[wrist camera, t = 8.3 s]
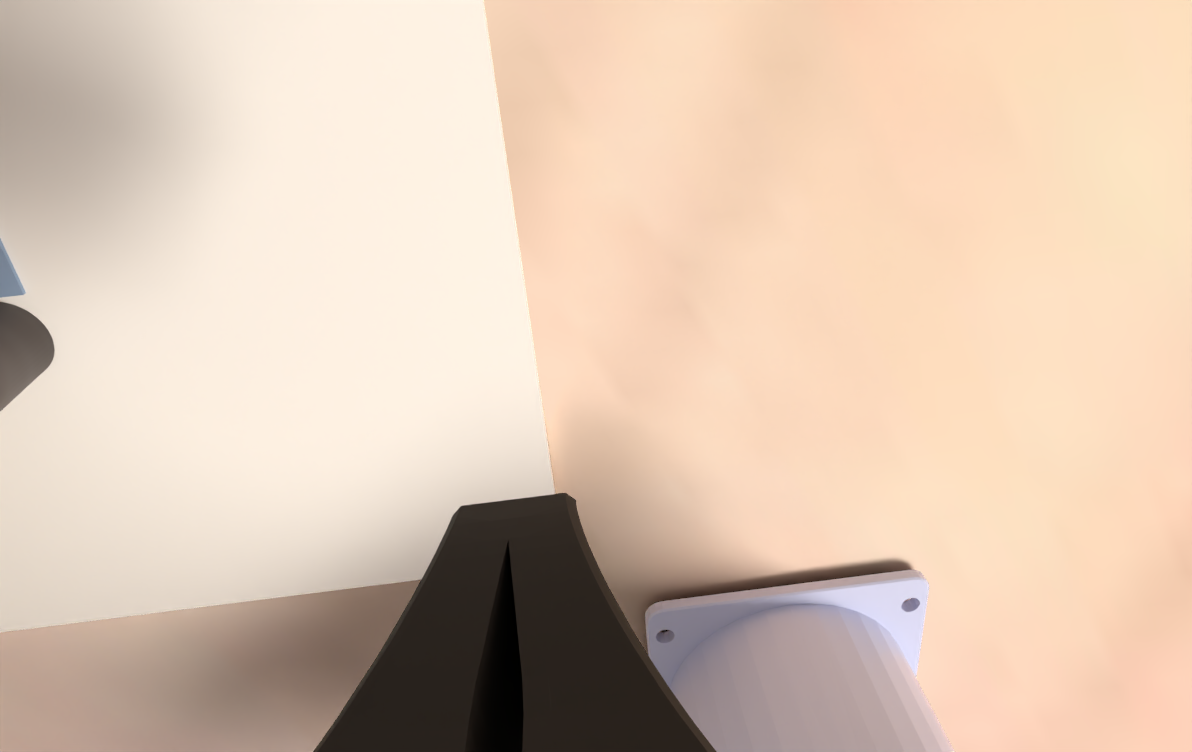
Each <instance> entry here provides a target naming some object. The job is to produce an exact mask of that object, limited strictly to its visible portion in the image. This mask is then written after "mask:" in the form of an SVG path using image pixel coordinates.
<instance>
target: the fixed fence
mask: <svg viewBox="0 0 1192 752" xmlns="http://www.w3.org/2000/svg"><path fill="white" fill-rule="evenodd" d="M54 351H55V349H54V343H53V339H52V337H51V335H50V333H49V331H48V329H47V328H46V327H45V325H44V324H43V323H42V322H41V321H40V320H39V319H38V318H37V317H35V316H34V315H33V314H31V313H30V312H28V311H27V310H25V309H23V308H21V307H18V306H16V305H13V304H9V303H4V302H0V411H2V410H3V409H4V408H5V407H6V406H7V405H8V404H9V403H10V402H11V401H12V400H13V399H15V398H16V397H17V396H18V395H19V394H20V393H21V392H22V391H23V390H24V389H25V388H26V387H27V386H29V385H30V384H31V383H32V382H33V381H34V380H35V379H36V378H37V377H38V376H39V375H40V374H42V373H43V372H44V371H45V370H46V369H47V368H48V367H49V366H50V364H51V362H52V360H53V357H54Z"/></svg>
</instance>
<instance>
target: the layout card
mask: <svg viewBox="0 0 1192 752" xmlns="http://www.w3.org/2000/svg"><path fill="white" fill-rule="evenodd" d="M0 302H4V303H9V304H13V305H16V306H18V307H21V308H23V309H25V310H27V311H28V312H30V313H31V314H33V315H34V316H35V317H37V318H38V319H39V320H40V321H41V322H42V323H43V324H44V325H45V327H46V328H47V329H48V331H49V333H50V335H51V337H52V339H53V343H54V349H55V351H54V357H53V360H52V362H51V364H50V366H49V367H48V368H47V369H46V370H45V371H44V372H43V373H42V374H40V375H39V376H38V377H37V378H36V379H35V380H34V381H33V382H32V383H31V384H30V385H29V386H27V387H26V388H25V389H24V390H23V391H22V392H21V393H20V394H19V395H18V396H17V397H16V398H15V399H13V400H12V401H11V402H10V403H9V404H8V405H7V406H6V407H5V408H4V409H3V410H2V411H0V633H1V632H9V631H17V630H25V629H33V628H41V627H49V626H56V625H64V624H72V623H80V622H88V621H96V620H104V619H112V618H120V617H128V616H136V615H144V614H152V613H160V612H168V611H176V610H184V609H192V608H200V607H208V606H215V605H223V604H231V603H239V602H247V601H255V600H263V599H271V598H279V597H287V596H295V595H303V594H311V593H319V592H327V591H335V590H343V589H351V588H359V587H367V586H374V585H382V584H390V583H398V582H406V581H414V580H422V578H423V576H424V574H425V572H426V570H427V568H428V566H429V564H430V562H431V560H432V559H433V557H434V555H435V553H436V551H437V548H438V546H439V544H440V542H441V540H442V538H443V536H444V534H445V532H446V530H447V527H448V525H449V523H450V521H451V518H452V516H453V514H454V513H455V512H456V511H457V510H458V509H459V508H460V506H463V505H471V504H479V503H488V502H496V501H504V500H512V499H520V498H528V497H536V496H544V495H552V494H555V488H554V481H553V474H552V467H551V460H550V453H549V447H548V440H547V433H546V426H545V419H544V412H543V405H542V398H541V391H540V385H539V378H538V371H537V364H536V357H535V350H534V343H533V336H532V329H531V322H530V316H529V309H528V302H527V295H526V288H525V281H524V274H523V267H522V260H521V254H520V247H519V240H518V233H517V226H516V219H515V212H514V205H513V198H512V192H511V185H510V178H509V171H508V164H507V157H506V150H505V143H504V136H503V130H502V123H501V116H500V109H499V102H498V95H497V88H496V81H495V74H494V68H493V61H492V54H491V47H490V40H489V33H488V26H487V19H486V12H485V6H484V0H0Z"/></svg>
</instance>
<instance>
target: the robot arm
mask: <svg viewBox="0 0 1192 752" xmlns="http://www.w3.org/2000/svg"><path fill="white" fill-rule="evenodd" d="M928 593H929V583H928V582H927V580H926V579H925V577H924V575H923V574H922V573H921V572H919V571H917V570H903V571H895V572H887V573H879V574H871V575H864V576H856V577H848V578H840V579H832V580H824V581H817V582H809V583H801V584H793V585H785V586H777V587H769V588H762V589H754V590H746V591H738V592H730V593H722V594H715V595H707V596H699V597H691V598H683V599H675V600H667V601H661V602H657V603H654V604H653V605H651V606H650V607H649V608H648V609H647V610H646V612H645V625H646V637H647V648H648V654H647V653H646V651H645V650H644V648H643V647H642V645H641V643H640V642H639V640H638V638H637V637H636V635H635V633H634V632H633V630H632V628H631V627H630V625H629V623H628V621H627V620H626V618H625V616H624V614H623V612H622V611H621V609H620V607H619V605H618V603H617V602H616V600H615V598H614V596H613V595H612V593H611V591H610V589H609V587H608V585H607V583H606V581H605V579H604V577H603V575H602V573H601V571H600V569H599V567H598V565H597V563H596V561H595V558H594V556H593V554H592V552H591V549H590V547H589V545H588V542H587V540H586V537H585V534H584V532H583V529H582V526H581V523H580V519H579V516H578V512H577V507H576V500H575V499H573V498H572V497H570V496H569V495H568V494H566V493H560V494H552V495H544V496H536V497H528V498H520V499H512V500H504V501H496V502H488V503H479V504H471V505H463V506H460V508H459V509H458V510H457V511H456V512H455V513H454V514H453V516H452V518H451V521H450V523H449V525H448V527H447V530H446V532H445V534H444V536H443V538H442V540H441V542H440V544H439V546H438V548H437V551H436V553H435V555H434V557H433V559H432V560H431V562H430V564H429V566H428V568H427V570H426V572H425V574H424V576H423V578H422V580H421V581H420V583H419V585H418V587H417V589H416V591H415V593H414V595H413V596H412V598H411V600H410V602H409V603H408V605H407V607H406V608H405V610H404V612H403V614H402V615H401V617H400V619H399V621H398V622H397V624H396V626H395V628H394V629H393V631H392V633H391V634H390V636H389V638H388V640H387V641H386V643H385V645H384V646H383V648H382V650H381V651H380V653H379V655H378V656H377V658H376V659H375V661H374V662H373V664H372V666H371V667H370V669H369V670H368V672H367V673H366V675H365V676H364V678H363V679H362V681H361V682H360V684H359V685H358V687H357V688H356V690H355V692H354V693H353V695H352V696H351V698H350V699H349V701H348V702H347V704H346V705H345V707H344V708H343V710H342V711H341V713H340V714H339V716H338V718H337V719H336V720H335V722H334V723H333V725H332V726H331V728H330V729H329V731H328V732H327V733H326V735H325V736H324V738H323V739H322V740H321V742H320V743H319V745H318V746H317V747H316V749H315V750H314V752H955V751H954V749H953V747H952V745H951V743H950V741H949V739H948V737H947V735H946V734H945V732H944V730H943V728H942V726H941V724H940V722H939V720H938V718H937V717H936V715H935V713H934V711H933V709H932V707H931V705H930V703H929V701H928V699H927V698H926V696H925V694H924V692H923V690H922V688H921V686H920V684H919V682H918V681H917V679H916V676H917V669H918V662H919V655H920V648H921V641H922V634H923V627H924V620H925V614H926V607H927V600H928ZM910 598H911V599H910ZM907 599H910V600H908V601H905V600H907ZM904 601H905V602H904ZM662 630H669V631H667V632H664V633H662V632H660V631H662Z"/></svg>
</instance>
